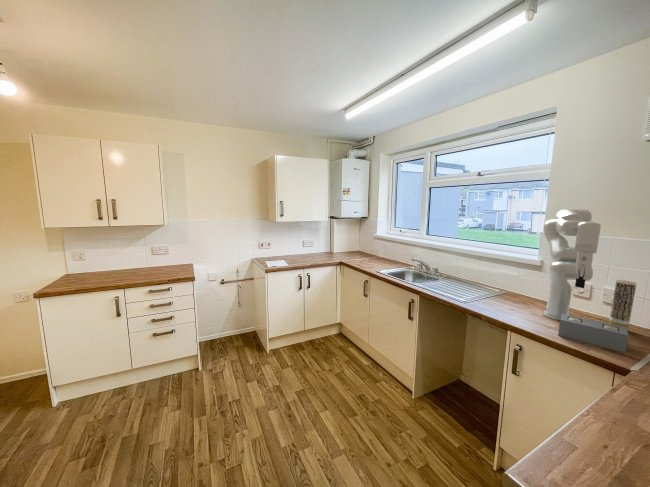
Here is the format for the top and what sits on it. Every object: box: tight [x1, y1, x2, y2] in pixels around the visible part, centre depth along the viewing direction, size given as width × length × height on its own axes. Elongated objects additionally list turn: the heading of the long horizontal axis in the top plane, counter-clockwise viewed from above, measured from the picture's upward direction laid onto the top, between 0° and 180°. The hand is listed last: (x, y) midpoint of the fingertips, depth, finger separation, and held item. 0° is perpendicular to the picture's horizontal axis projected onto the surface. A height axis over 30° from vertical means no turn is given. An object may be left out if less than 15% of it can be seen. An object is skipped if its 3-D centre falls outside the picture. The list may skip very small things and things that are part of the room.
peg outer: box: [604, 326, 618, 331], centre depth 123 cm, size 4×4×7 cm
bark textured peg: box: [608, 279, 637, 332], centre depth 138 cm, size 7×7×25 cm
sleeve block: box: [557, 314, 629, 354], centre depth 127 cm, size 22×11×8 cm, turn 46°
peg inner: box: [569, 318, 581, 322], centre depth 131 cm, size 4×4×7 cm
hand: (579, 287), depth 129 cm, fingers closed
